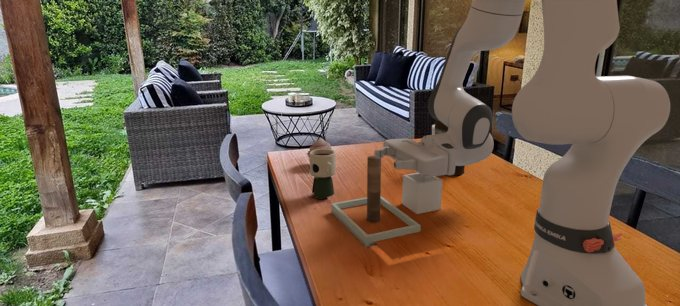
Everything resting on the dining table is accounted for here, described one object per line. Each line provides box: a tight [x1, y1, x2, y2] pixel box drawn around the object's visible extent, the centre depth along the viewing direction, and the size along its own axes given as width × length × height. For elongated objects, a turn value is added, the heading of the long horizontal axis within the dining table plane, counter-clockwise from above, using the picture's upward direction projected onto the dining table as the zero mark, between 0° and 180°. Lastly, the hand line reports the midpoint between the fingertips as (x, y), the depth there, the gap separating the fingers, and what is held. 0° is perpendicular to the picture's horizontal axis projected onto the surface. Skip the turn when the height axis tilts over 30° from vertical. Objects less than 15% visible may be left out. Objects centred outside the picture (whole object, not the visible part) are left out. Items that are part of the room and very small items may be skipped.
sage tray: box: [330, 195, 422, 248], centre depth 110 cm, size 20×14×2 cm
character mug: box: [308, 149, 337, 200], centre depth 125 cm, size 11×7×13 cm, turn 26°
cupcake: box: [306, 137, 332, 158], centre depth 151 cm, size 9×9×10 cm
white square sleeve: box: [401, 172, 443, 215], centre depth 117 cm, size 7×7×9 cm
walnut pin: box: [366, 155, 382, 224], centre depth 108 cm, size 3×3×16 cm
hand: (385, 159), depth 107 cm, fingers open, 8 cm apart
